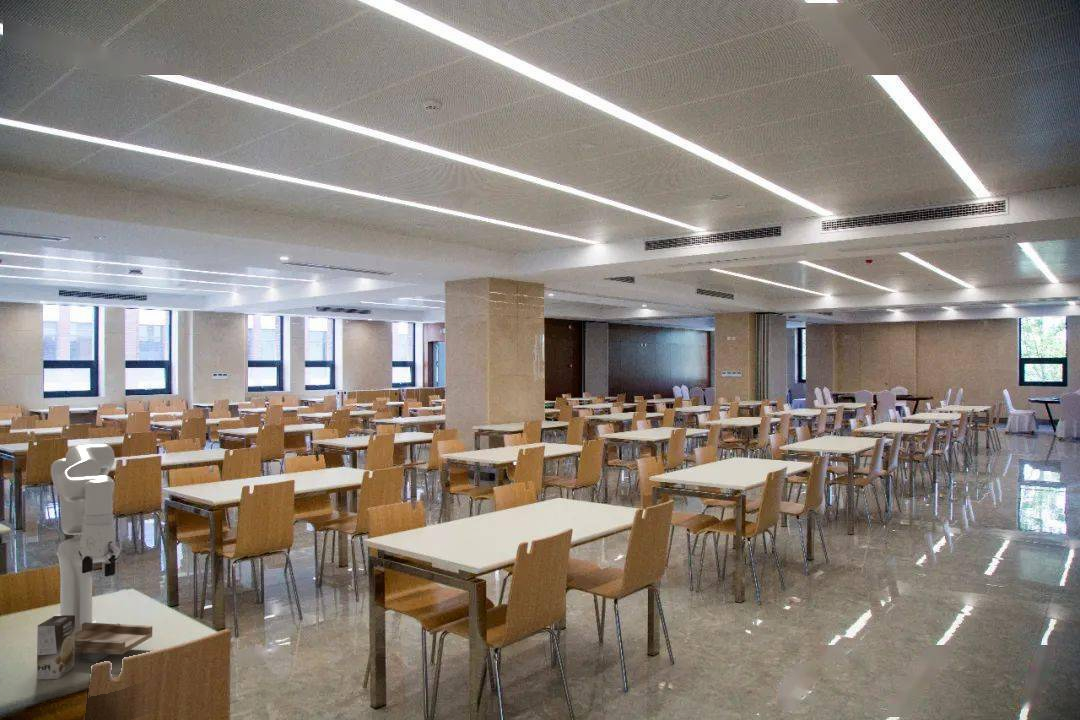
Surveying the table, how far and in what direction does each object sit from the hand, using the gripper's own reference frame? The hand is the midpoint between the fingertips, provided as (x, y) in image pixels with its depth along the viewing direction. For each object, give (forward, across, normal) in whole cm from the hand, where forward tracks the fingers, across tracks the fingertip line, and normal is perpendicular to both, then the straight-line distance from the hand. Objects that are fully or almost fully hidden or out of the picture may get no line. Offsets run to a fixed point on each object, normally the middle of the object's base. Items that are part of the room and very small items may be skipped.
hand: (98, 573), depth 234 cm
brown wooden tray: (+28, -4, +5) cm, 28 cm away
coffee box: (+28, -4, -10) cm, 30 cm away
